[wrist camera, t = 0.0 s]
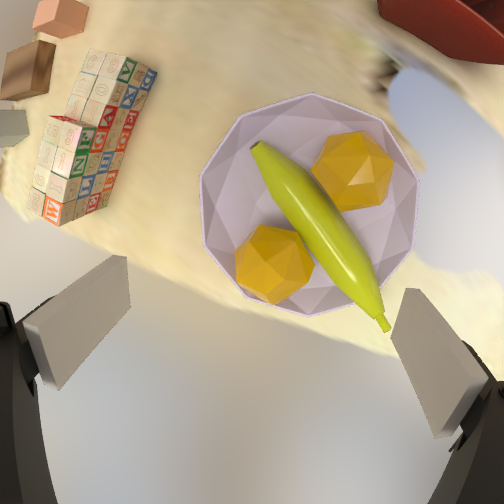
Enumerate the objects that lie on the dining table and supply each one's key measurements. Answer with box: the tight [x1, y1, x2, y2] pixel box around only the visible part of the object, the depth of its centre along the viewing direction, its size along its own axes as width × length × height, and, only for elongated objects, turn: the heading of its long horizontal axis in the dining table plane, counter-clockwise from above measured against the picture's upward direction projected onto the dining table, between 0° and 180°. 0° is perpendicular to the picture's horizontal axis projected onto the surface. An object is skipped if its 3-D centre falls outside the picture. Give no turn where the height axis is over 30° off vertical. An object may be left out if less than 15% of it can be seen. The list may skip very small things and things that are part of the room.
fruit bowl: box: [199, 92, 419, 333], centre depth 35 cm, size 28×27×11 cm
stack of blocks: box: [27, 49, 157, 227], centre depth 33 cm, size 21×6×12 cm, turn 155°
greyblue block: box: [0, 110, 29, 148], centre depth 36 cm, size 5×5×8 cm
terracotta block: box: [32, 0, 89, 39], centre depth 29 cm, size 5×5×8 cm
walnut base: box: [0, 40, 56, 101], centre depth 34 cm, size 9×9×5 cm
